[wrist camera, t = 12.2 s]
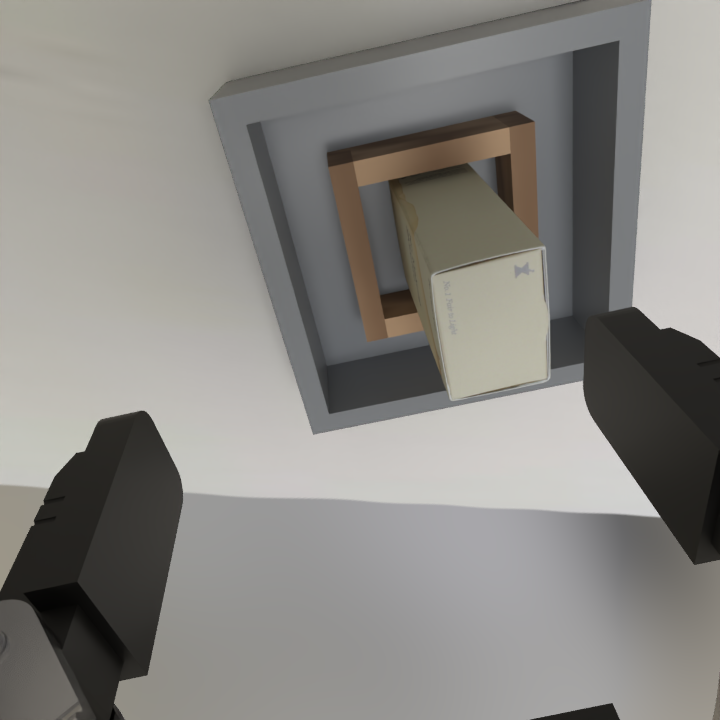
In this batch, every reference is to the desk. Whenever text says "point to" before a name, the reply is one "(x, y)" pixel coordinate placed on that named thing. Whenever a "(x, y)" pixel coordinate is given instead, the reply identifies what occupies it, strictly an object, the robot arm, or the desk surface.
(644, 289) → the desk surface
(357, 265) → the square socket
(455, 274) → the skincare box
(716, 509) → the robot arm
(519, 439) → the desk surface
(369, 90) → the open box
